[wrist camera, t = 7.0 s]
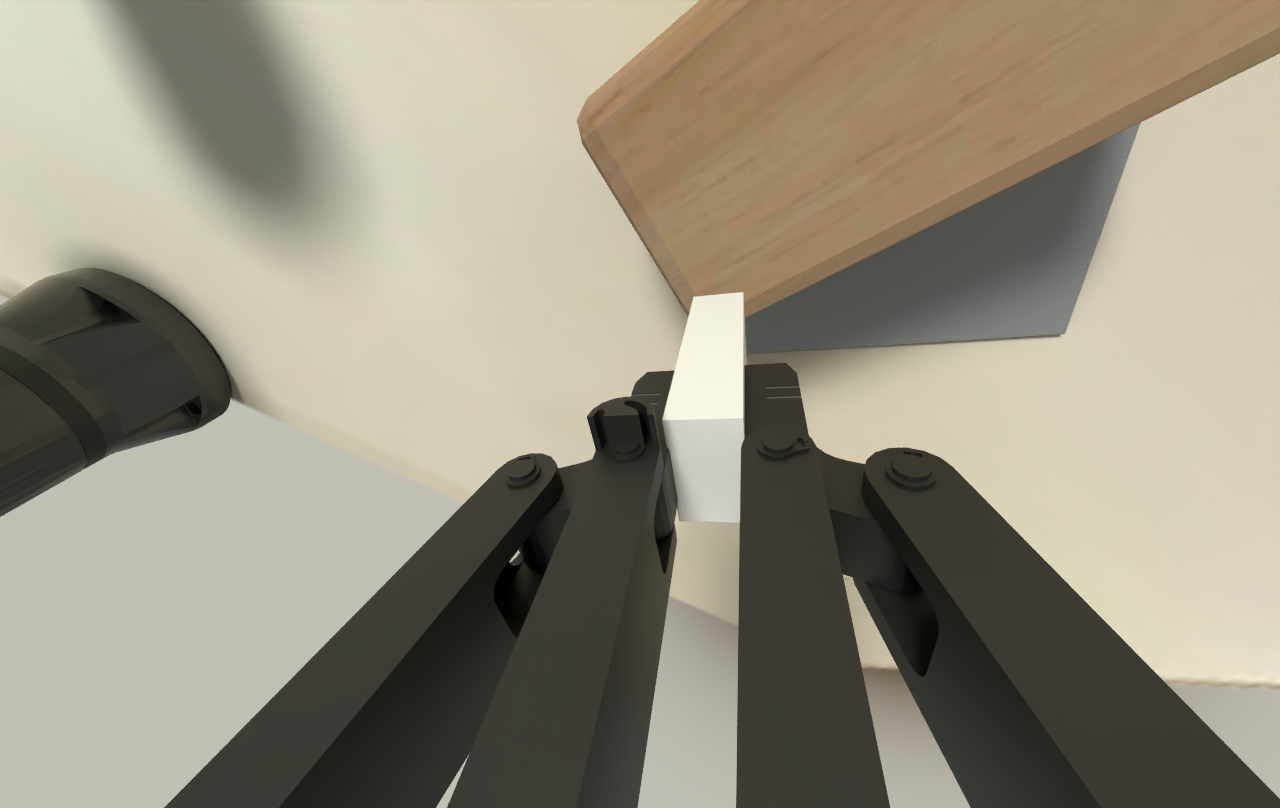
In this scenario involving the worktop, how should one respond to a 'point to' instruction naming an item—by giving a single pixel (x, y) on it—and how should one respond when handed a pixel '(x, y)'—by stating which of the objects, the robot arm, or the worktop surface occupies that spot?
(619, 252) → the worktop surface
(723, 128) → the wooden block
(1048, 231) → the mat
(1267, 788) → the robot arm
